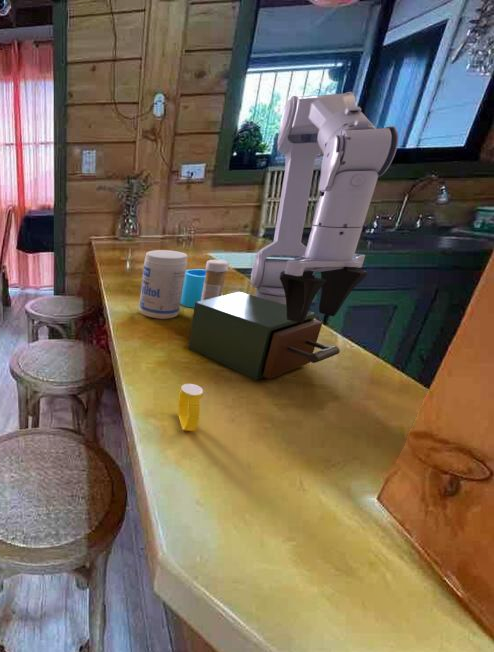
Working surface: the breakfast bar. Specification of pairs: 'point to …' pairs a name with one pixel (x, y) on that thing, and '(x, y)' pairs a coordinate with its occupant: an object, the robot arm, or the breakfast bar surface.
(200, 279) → the mug
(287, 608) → the breakfast bar surface
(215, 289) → the sprinkles bottle
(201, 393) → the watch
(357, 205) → the robot arm
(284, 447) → the breakfast bar surface
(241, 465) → the breakfast bar surface
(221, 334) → the cabinet
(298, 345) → the drawer
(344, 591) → the breakfast bar surface
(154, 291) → the supplement tub
